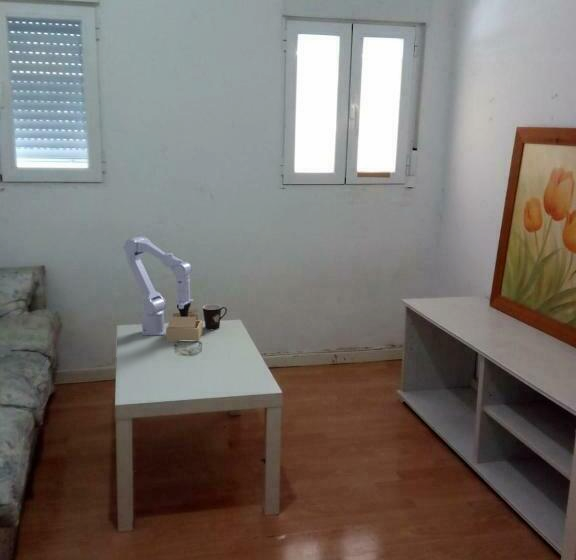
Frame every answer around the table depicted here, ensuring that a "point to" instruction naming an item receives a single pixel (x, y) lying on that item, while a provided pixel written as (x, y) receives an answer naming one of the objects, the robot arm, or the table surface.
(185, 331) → the carton
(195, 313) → the flap far
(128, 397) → the table surface
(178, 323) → the flap near
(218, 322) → the coffee mug
